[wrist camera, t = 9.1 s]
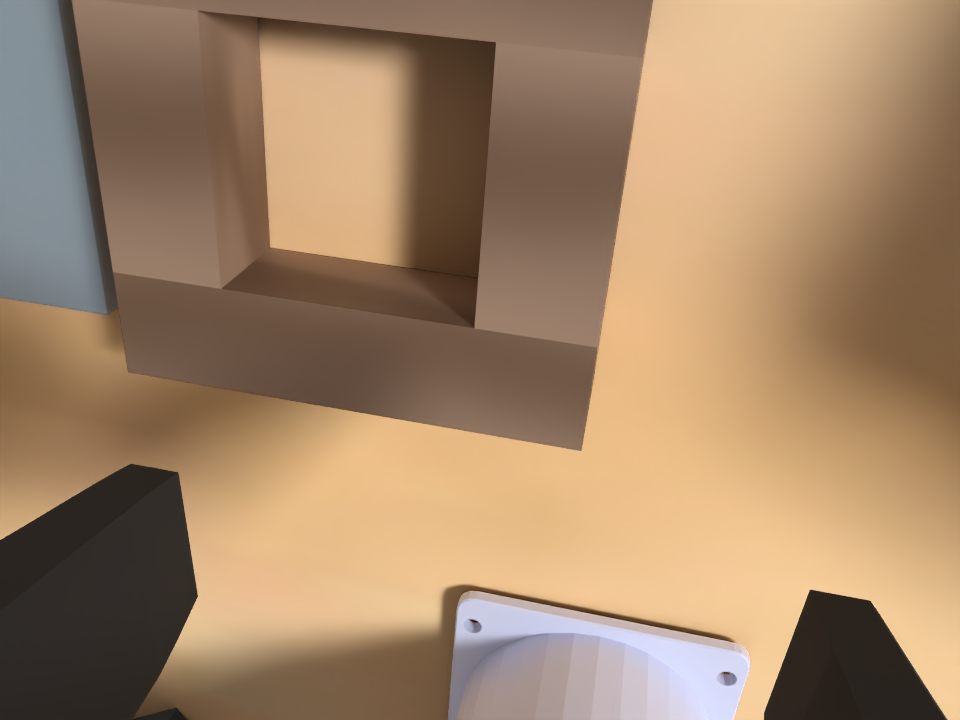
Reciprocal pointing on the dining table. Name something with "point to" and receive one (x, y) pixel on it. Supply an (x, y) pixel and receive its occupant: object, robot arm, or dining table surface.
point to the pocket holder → (349, 283)
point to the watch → (164, 716)
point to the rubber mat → (49, 165)
